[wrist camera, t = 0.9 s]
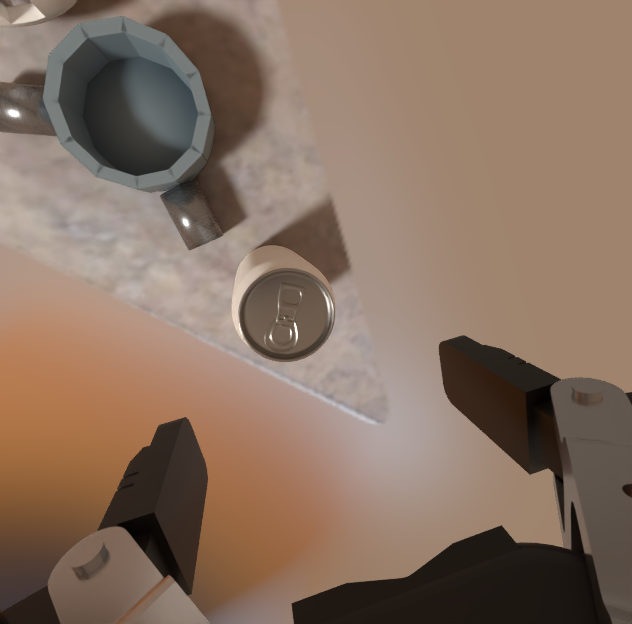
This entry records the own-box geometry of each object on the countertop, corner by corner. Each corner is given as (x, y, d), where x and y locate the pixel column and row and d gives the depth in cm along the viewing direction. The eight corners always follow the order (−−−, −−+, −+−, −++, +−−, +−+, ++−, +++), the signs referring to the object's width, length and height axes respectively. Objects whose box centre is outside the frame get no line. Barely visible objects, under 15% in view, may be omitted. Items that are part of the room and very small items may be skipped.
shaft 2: (164, 197, 28) (155, 195, 26) (199, 182, 29) (194, 179, 26) (191, 248, 30) (185, 251, 27) (224, 234, 30) (222, 235, 27)
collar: (108, 203, 28) (83, 201, 24) (55, 64, 25) (16, 32, 21) (229, 176, 29) (226, 169, 25) (191, 40, 26) (181, 6, 22)
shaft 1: (71, 95, 26) (49, 80, 23) (76, 140, 26) (56, 131, 24) (0, 89, 25) (-31, 72, 22) (8, 135, 26) (-22, 125, 23)
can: (229, 308, 32) (220, 360, 20) (243, 236, 30) (241, 248, 19) (299, 321, 33) (327, 375, 22) (315, 253, 32) (354, 273, 21)
